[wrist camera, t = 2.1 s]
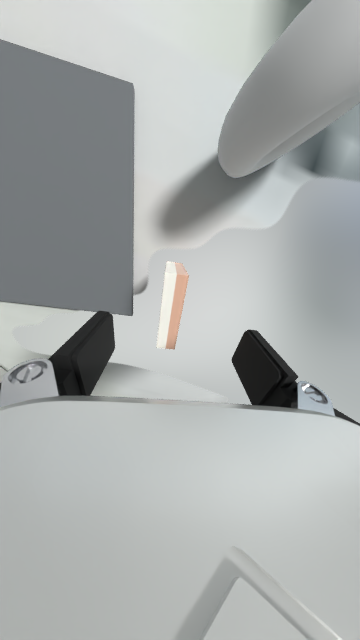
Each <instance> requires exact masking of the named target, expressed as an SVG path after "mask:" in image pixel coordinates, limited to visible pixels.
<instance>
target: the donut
mask: <svg viewBox="0 0 360 640" xmlns="http://www.w3.org/2000/svg"><path fill="white" fill-rule="evenodd" d="M359 103H360V0H312V1H311V2H310V3H309V4H308V5H307V6H306V7H305V8H304V9H303V10H302V11H301V12H300V13H299V14H298V15H297V17H296V18H295V19H294V20H293V21H292V23H291V24H290V25H289V26H288V27H287V29H286V30H285V31H284V32H283V33H282V35H281V36H280V37H279V38H278V39H277V41H276V42H275V43H274V44H273V45H272V46H271V48H270V49H269V50H268V51H267V52H266V54H265V55H264V56H263V58H262V59H261V61H260V62H259V64H258V65H257V66H256V68H255V69H254V71H253V72H252V73H251V75H250V76H249V78H248V79H247V80H246V82H245V83H244V85H243V86H242V88H241V90H240V91H239V93H238V95H237V97H236V98H235V100H234V102H233V104H232V106H231V108H230V109H229V111H228V113H227V115H226V117H225V120H224V123H223V126H222V130H221V134H220V137H219V143H218V159H219V163H220V165H221V168H222V169H223V170H224V171H225V172H226V174H227V175H228V176H231V177H233V178H240V177H244V176H246V175H248V174H251V173H253V172H255V171H257V170H259V169H261V168H262V167H264V166H266V165H268V164H270V163H271V162H273V161H275V160H276V159H278V158H280V157H281V156H283V155H285V154H286V153H288V152H289V151H291V150H292V149H294V148H296V147H297V146H299V145H300V144H302V143H303V142H305V141H306V140H308V139H309V138H311V137H312V136H314V135H315V134H317V133H318V132H320V131H321V130H323V129H324V128H326V127H327V126H328V125H330V124H331V123H333V122H334V121H336V120H337V119H338V118H340V117H341V116H343V115H344V114H345V113H347V112H348V111H349V110H351V109H352V108H354V107H355V106H356V105H357V104H359Z"/></svg>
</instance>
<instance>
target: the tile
mask: <svg viewBox="0 0 360 640" xmlns="http://www.w3.org/2000/svg"><path fill="white" fill-rule="evenodd" d="M188 278H189V275H188V273H187V271H186V270H185V268H184V266H183V264H182V263H176V262H170V261H167V262H166V267H165V274H164V284H163V292H162V302H161V310H160V319H159V328H158V337H157V347H156V348H165V349H175V344H176V339H177V334H178V329H179V324H180V319H181V314H182V309H183V303H184V298H185V293H186V288H187V283H188Z"/></svg>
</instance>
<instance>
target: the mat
mask: <svg viewBox="0 0 360 640" xmlns="http://www.w3.org/2000/svg"><path fill="white" fill-rule="evenodd" d="M133 226H134V87H133V83H130V82H127V81H124V80H121V79H118V78H115V77H112V76H109V75H106V74H103V73H100V72H97V71H94V70H91V69H88V68H85V67H82V66H79V65H76V64H73V63H70V62H67V61H64V60H61V59H58V58H55V57H52V56H49V55H46V54H43V53H40V52H37V51H34V50H31V49H28V48H25V47H22V46H19V45H16V44H13V43H10V42H7V41H4V40H1V39H0V301H6V302H14V303H23V304H32V305H41V306H49V307H58V308H67V309H75V310H84V311H93V312H98V311H107V312H109V313H110V314H119V315H128V316H132V315H133Z"/></svg>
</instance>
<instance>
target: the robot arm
mask: <svg viewBox="0 0 360 640" xmlns="http://www.w3.org/2000/svg"><path fill="white" fill-rule="evenodd" d="M114 348H115V341H114V328H113V316H112V314H110V313H109V312H107V311H98V312H97V313H96V314H95V315H94V316H93V317H92V318H91V319H90V320H88V321H87V322H86V323H85V324H84V325H83V326H82V327H81V328H80V329H79V330H78V331H77V332H76V333H75V334H74V335H73V336H72V337H71V338H70V339H69V340H68V341H67V342H66V343H65V344H64V345H62V347H60V348H59V349H58V350H57V351H56V352H55V353H54V354H53V355H52V356H51V357H50V358H49V359H43V358H40V359H32V360H28V361H25V362H22V363H20V364H18V365H16V366H14V367H13V368H11V369H10V370H9V371H8V372H7V371H6V370H4V369H3V368H2V367H0V640H360V424H359V423H358V422H356V421H354V420H353V419H351V418H349V417H348V416H346V415H344V414H343V413H341V412H339V411H338V410H336V409H334V408H333V406H332V402H331V400H330V398H329V397H328V396H327V395H326V394H325V393H324V392H323V391H322V390H321V389H319V388H318V387H316V386H315V385H313V384H311V383H309V382H305V381H300V382H298V383H296V381H295V380H296V379H297V378H298V376H297V375H296V373H295V372H294V371H293V370H292V369H291V368H290V367H289V366H288V365H287V363H286V362H285V361H284V360H283V359H282V358H281V357H280V356H279V354H277V352H276V351H275V350H274V349H273V348H272V347H271V346H270V345H269V343H268V342H267V341H266V340H265V339H264V338H263V337H262V336H261V334H260V333H259V332H258V331H255V330H247V331H246V332H244V334H243V336H242V338H241V340H240V342H239V345H238V347H237V349H236V351H235V353H234V355H233V357H232V363H233V365H234V367H235V369H236V372H237V374H238V376H239V378H240V380H241V382H242V384H243V386H244V389H245V391H246V393H247V395H248V397H249V399H250V402H251V404H252V405H244V404H228V403H213V402H197V401H180V400H163V399H145V398H127V397H105V396H90V394H91V393H92V391H93V389H94V387H95V385H96V383H97V381H98V380H99V378H100V376H101V374H102V372H103V370H104V368H105V366H106V365H107V363H108V361H109V359H110V357H111V355H112V353H113V351H114Z"/></svg>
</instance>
